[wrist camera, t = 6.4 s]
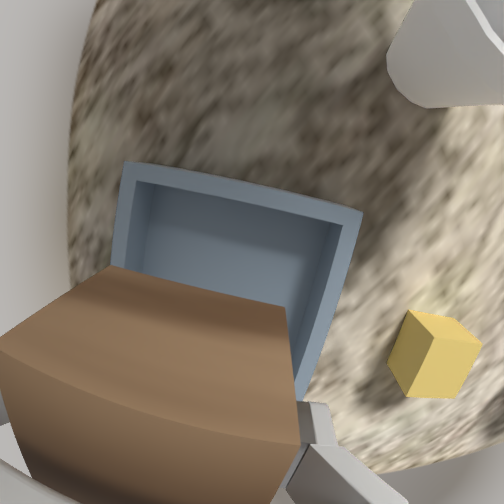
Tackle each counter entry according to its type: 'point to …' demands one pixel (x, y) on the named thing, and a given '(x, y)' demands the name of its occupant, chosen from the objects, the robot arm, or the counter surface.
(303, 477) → the robot arm
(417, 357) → the mustard block
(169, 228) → the tray
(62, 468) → the walnut block
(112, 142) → the counter surface
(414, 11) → the foam cup
